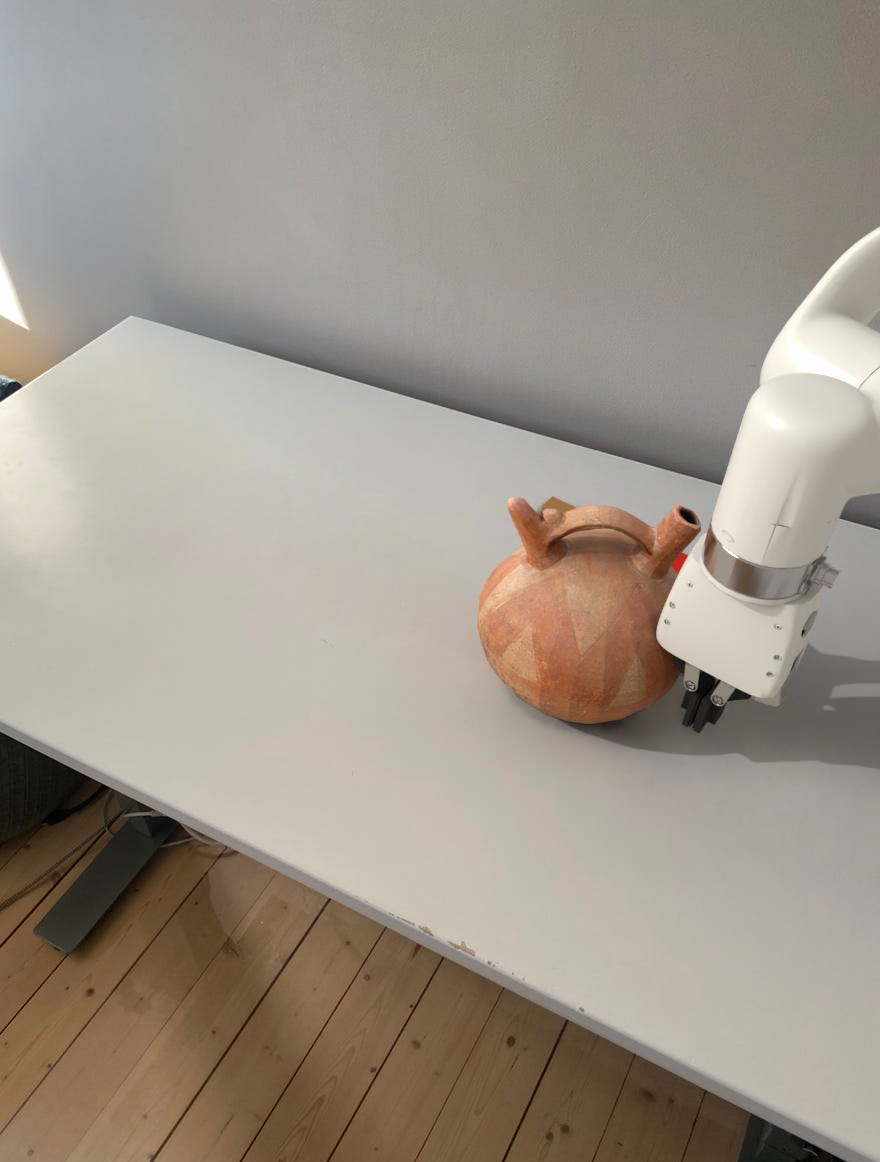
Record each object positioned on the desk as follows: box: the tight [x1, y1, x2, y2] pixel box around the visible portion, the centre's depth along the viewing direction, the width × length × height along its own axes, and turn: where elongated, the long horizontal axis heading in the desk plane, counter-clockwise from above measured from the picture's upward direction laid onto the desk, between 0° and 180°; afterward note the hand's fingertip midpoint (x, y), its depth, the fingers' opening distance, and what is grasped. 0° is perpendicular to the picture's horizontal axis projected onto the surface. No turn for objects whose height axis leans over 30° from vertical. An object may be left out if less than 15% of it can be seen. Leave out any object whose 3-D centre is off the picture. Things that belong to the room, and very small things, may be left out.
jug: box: [477, 496, 702, 725], centre depth 78 cm, size 18×18×20 cm
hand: (698, 718), depth 77 cm, fingers closed
